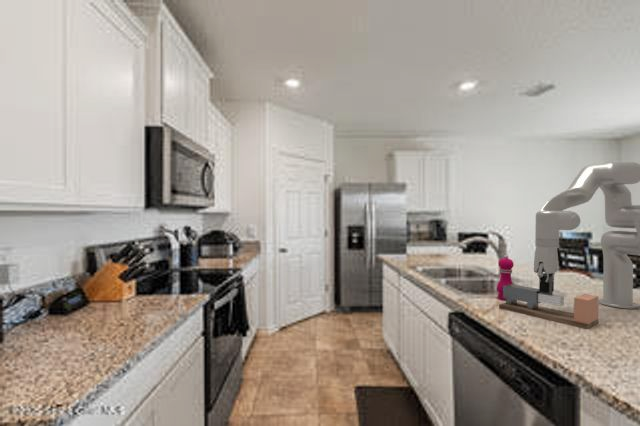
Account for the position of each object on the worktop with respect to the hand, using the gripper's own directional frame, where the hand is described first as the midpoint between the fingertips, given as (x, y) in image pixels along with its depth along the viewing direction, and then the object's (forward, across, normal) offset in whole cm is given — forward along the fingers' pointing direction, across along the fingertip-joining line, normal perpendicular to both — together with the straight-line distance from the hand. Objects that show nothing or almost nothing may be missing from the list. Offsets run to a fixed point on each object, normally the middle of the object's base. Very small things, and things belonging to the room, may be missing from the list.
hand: (546, 291), depth 129 cm
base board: (+9, 0, 0) cm, 9 cm away
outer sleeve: (+8, 0, -9) cm, 12 cm away
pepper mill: (+9, -12, -21) cm, 26 cm away
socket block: (+8, 0, +12) cm, 15 cm away
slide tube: (+4, 0, -4) cm, 6 cm away
